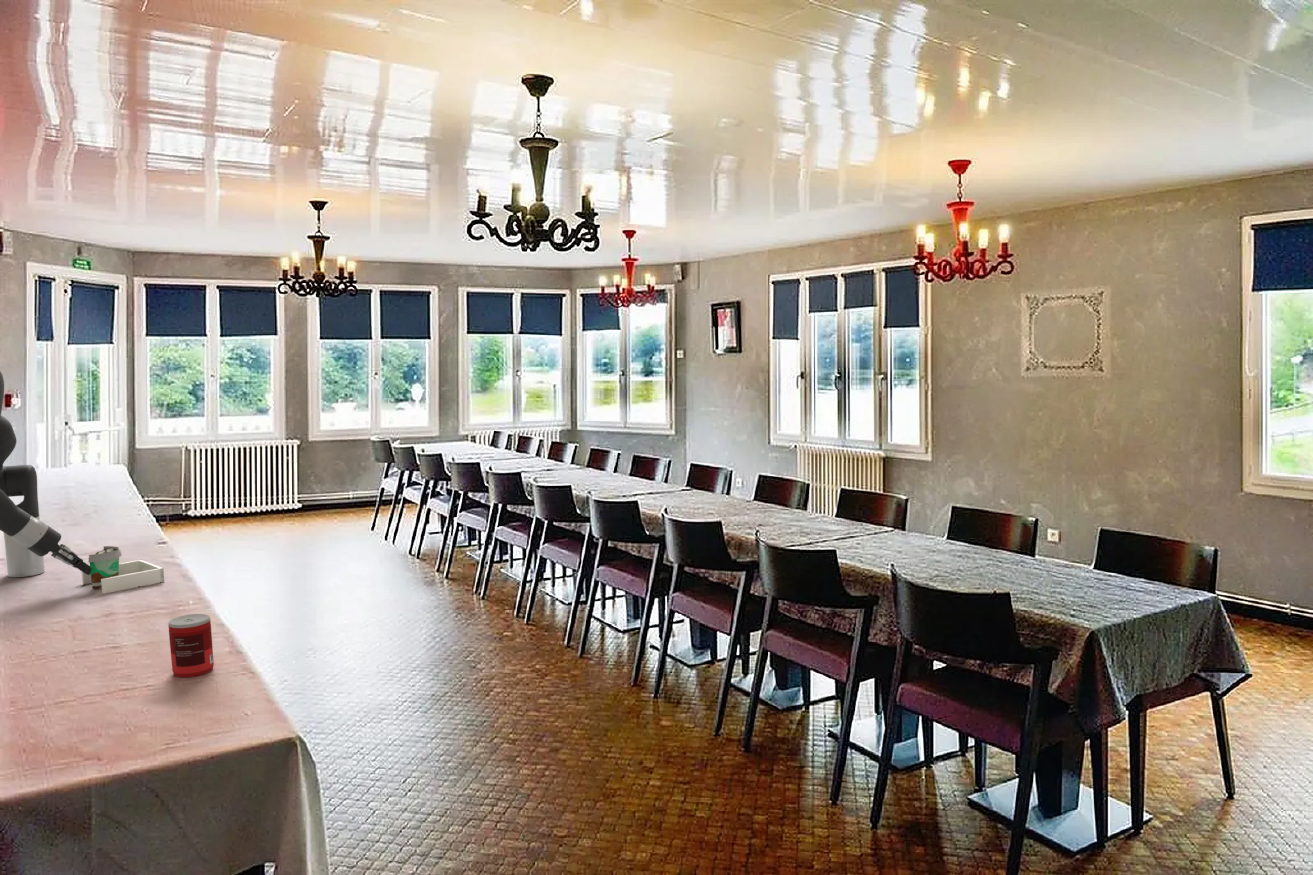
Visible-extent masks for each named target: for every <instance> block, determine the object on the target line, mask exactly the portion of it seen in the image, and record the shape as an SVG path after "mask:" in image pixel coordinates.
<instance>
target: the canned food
mask: <svg viewBox="0 0 1313 875" xmlns="http://www.w3.org/2000/svg"><path fill="white" fill-rule="evenodd" d="M211 622H212V621H211V616H210V615H208V614H205V613H191V614H184V615H181V616H177V617H174V618H171V619H170V620H169V621H168V625H167V626H168V636H169V648H170V659H171V670H172V673H173V675H174V676H175V677H177V678H187V679H188V678H195V677H200V676H203V675H206V674H208V673H210V672H211V671H212V670H213V668H214V664H215V663H214V662H215V661H214V650H213V648H214V647H213V635H212V624H211Z"/></svg>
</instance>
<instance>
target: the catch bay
mask: <svg viewBox="0 0 1313 875" xmlns="http://www.w3.org/2000/svg"><path fill="white" fill-rule="evenodd" d="M81 578H82V580H81V581H82V585H87V584H88V585H89V584H92V581H91V574H90V575H87V574H85V573H84V572H82V571H81ZM160 582H161V583H165V575H164V567H161V566H159V565H156V564H154V563H151V562H147V561H145V560H142V559H138V560H132V561H127V562H122V563H120V562H119V576H115V577H110V578H105V579H101V586H102V588H101V594H103V595H104V594H109V593H114V592H120V591H125V590H129V589H135V588H139V587H138V586H140V587H145V586H150V585H151V586H152V585H155V584H161V583H160Z"/></svg>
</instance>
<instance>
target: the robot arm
mask: <svg viewBox="0 0 1313 875" xmlns="http://www.w3.org/2000/svg"><path fill="white" fill-rule="evenodd" d="M4 397H5V379H4V376H3V374H2V371H1V370H0V531H1V532H3V539H4V548H5V549H4V550H5V560H6V570H7V577H8V578H23V577H32V576H36V575H39V574H43V573H45V561H44V557H45V556H47V555H48V554H49V553H51V554H50V556H51V557H53V558H55V559H56V560H58V561H60V562H62V563H64V564H66V565H68V566H72V567H73V568H75V569H77V570H79V571H81V573H82V572H84V573H85V574H87V575H90V574H91V570H92V569H91V568H90V564H88V563H86V562H84V559H83V558H80V557H79V555H78V554H77V552H74V551H73V550H71V548H70V547H68V545H65V544H63V543H61V544H60V545H59V543H60V541H61V539H62V534H61V533H59V532H58V531H56V530H55V529H54V528H52V527H51V526H49V525H48V524H46V523H45V522H43V521H42V520H41V519H40V511H39V510H40V508H39V496H38V495H39V494H38V474H37V471H36V468H35V467H34V466H33V465H32V464H23V465H21V464H20V465H9V466H6V465H4V463H5V462H6V460H7V459H8V458H9V456H10V455H11V454H12V452H13V451H14V450H15V448H16V445H17V436H16V434H15V430H14V428H13V426H12V424H11V422H10V421H9V419H7V418H6V417H5V416H3V415H2V410H3V404H4ZM11 497H23V500H22V501H21V502H19V503H18V504H15V502H14V501H13V500H12V499H11Z"/></svg>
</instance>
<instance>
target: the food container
mask: <svg viewBox="0 0 1313 875" xmlns="http://www.w3.org/2000/svg"><path fill="white" fill-rule="evenodd" d="M122 555H123V554H122V552H121V549H120V547H118V546H113V545H108V546H107V545H106V546H105V545H103V549H102V550H100V551H97V552H96V553H94V554H88V563H89V566H90V568H91V569H92V570H91V581H92V583H91V589H92V590H95V589H102V586H101V579H105V578H110V577H115V576H119V564H120V558H121V557H122Z"/></svg>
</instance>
